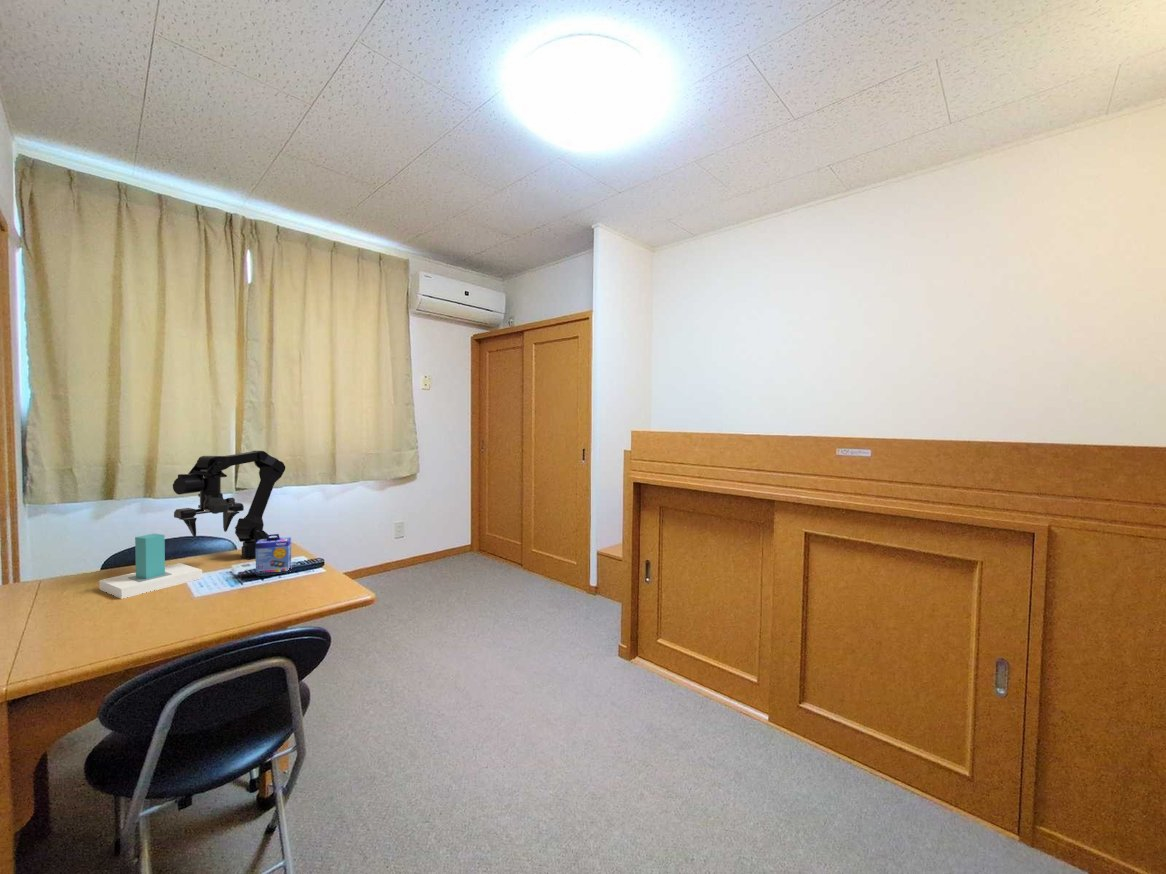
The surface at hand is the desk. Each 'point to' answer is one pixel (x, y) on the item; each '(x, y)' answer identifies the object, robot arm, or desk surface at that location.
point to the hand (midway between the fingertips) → (210, 534)
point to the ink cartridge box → (273, 554)
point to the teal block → (150, 555)
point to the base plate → (149, 581)
